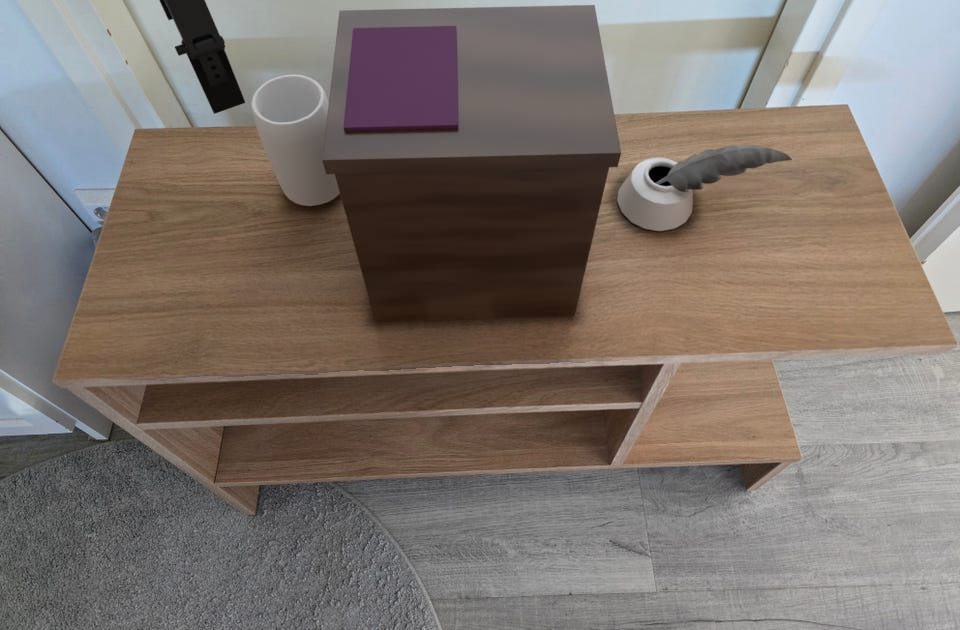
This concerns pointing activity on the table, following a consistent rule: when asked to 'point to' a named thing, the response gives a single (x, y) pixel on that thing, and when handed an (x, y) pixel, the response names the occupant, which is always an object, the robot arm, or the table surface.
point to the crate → (482, 169)
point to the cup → (295, 136)
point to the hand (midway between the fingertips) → (204, 57)
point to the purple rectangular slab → (402, 79)
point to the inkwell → (683, 183)
